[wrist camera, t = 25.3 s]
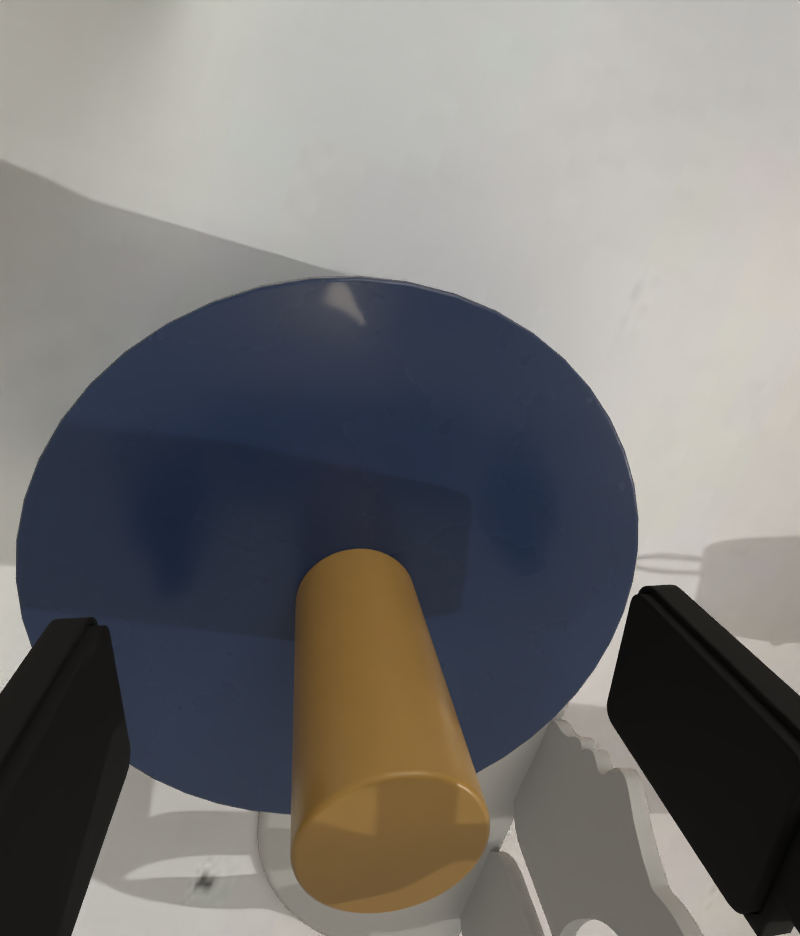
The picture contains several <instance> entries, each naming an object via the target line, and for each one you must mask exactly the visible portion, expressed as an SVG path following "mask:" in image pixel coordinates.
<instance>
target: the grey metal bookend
mask: <svg viewBox="0 0 800 936" xmlns="http://www.w3.org/2000/svg"><path fill="white" fill-rule="evenodd" d="M568 703H569V702H568ZM568 703H567V704H566V705H565V706H564V708H563V709H562V710H561V711H560V712H559V713H558V714H557V715H556V716H555V717H554V718H553V719H552V720H551V721H550V722H549V723H547V724H546V725H545V726H544V727H543V728H542V729H541V730H539V731H538V732H537V733H536V734H535V735H534V736H533V737H531V738H530V739H529V740H528V741H526V742H525V743H523V744H522V745H521V746H519V747H518V748H516V749H515V750H514V751H512V752H511V753H510V754H508V755H507V756H505V757H504V758H502V759H500V760H499V761H497V762H495V763H494V764H492V765H490V766H488V767H487V768H485V769H483V770H482V771H480V772H478V773H477V774H476V775H477V778H478V781H479V784H480V787H481V790H482V793H483V796H484V799H485V802H486V805H487V808H488V811H489V816H490V833H489V839H488V843H487V846H486V848H485V851H484V853H483V855H482V856H481V858H480V860H479V861H478V863H477V864H476V865H475V867H474V868H473V869H472V870H471V871H470V872H469V873H468V874H467V875H466V876H465V877H464V878H463V879H462V880H461V881H460V882H458V883H457V884H456V885H455V886H453V887H452V888H450V889H449V890H447V891H446V892H444V893H442V894H441V895H439V896H437V897H435V898H433V899H431V900H429V901H427V902H424V903H421V904H419V905H416V906H413V907H410V908H406V909H403V910H398V911H393V912H386V913H376V914H361V913H351V912H345V911H340V910H337V909H333V908H330V907H328V906H326V905H323V904H321V903H320V902H318V901H316V900H314V899H313V898H312V897H311V896H309V895H308V894H307V893H306V892H305V891H304V890H303V889H302V888H301V886H300V885H299V883H298V881H297V880H296V877H295V875H294V872H293V870H292V867H291V861H290V837H291V815H288V814H276V813H267V812H260V814H259V822H258V846H259V853H260V859H261V863H262V866H263V869H264V872H265V875H266V877H267V879H268V881H269V884H270V885H271V887H272V889H273V891H274V892H275V894H276V895H277V897H278V898H279V899H280V901H281V902H282V903H283V904H284V905H285V906H286V908H287V909H288V910H289V911H290V912H291V913H292V914H294V915H295V916H296V917H297V918H298V919H299V920H301V921H302V922H303V923H305V924H306V925H308V926H309V927H311V928H312V929H314V930H316V931H318V932H319V933H321V934H323V935H326V936H459V934H460V932H461V931H462V936H544V933H543V930H542V927H541V924H540V922H539V919H538V916H537V913H536V911H535V908H534V905H533V903H532V900H531V897H530V895H529V892H528V889H527V886H526V884H525V881H524V878H523V876H522V873H521V871H520V869H519V867H518V865H517V863H516V861H515V860H514V859H513V858H512V857H511V856H510V855H509V854H508V853H506V852H503V851H499V849H500V847H501V845H502V843H503V841H504V838H505V836H506V834H507V832H508V830H509V828H510V826H511V824H512V822H513V819H514V820H515V828H516V833H517V838H518V842H519V845H520V848H521V851H522V854H523V857H524V859H525V862H526V865H527V867H528V870H529V873H530V876H531V878H532V881H533V884H534V887H535V889H536V892H537V895H538V898H539V900H540V903H541V905H542V908H543V911H544V913H545V916H546V919H547V921H548V924H549V927H550V930H551V933H552V936H575V935H576V933H577V932H578V930H579V928H580V927H581V926H582V925H583V924H584V923H586V922H588V921H590V920H593V919H596V920H599V921H602V922H604V923H605V924H607V925H608V926H609V927H610V928H611V929H613V930H614V931H615V933H616V934H617V935H618V936H703V934H702V932H701V930H700V929H699V927H698V925H697V924H696V922H695V920H694V919H693V917H692V916H691V914H690V913H689V911H688V910H687V909H686V907H685V906H684V905H683V903H682V902H681V901H680V900H679V899H678V898H677V897H676V896H675V895H674V894H673V892H672V891H671V889H670V887H669V885H668V881H667V878H666V875H665V872H664V869H663V866H662V863H661V860H660V856H659V853H658V849H657V845H656V841H655V837H654V833H653V829H652V825H651V820H650V815H649V810H648V804H647V799H646V794H645V789H644V785H643V782H642V779H641V777H640V775H639V774H638V772H637V771H636V770H634V769H625V768H614V769H613V767H612V763H611V760H610V757H609V754H608V753H607V752H606V751H603V750H597V749H596V744H595V742H594V740H593V739H591V738H586V737H580V736H579V735H577V734H576V732H575V731H574V730H573V728H572V726H571V725H570V724H569V723H568V722H567V721H565V720H561V718H562V715H563V713H564V711H565V709H566V707H567V705H568Z"/></svg>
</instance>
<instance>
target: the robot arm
mask: <svg viewBox="0 0 800 936" xmlns="http://www.w3.org/2000/svg"><path fill="white" fill-rule="evenodd" d="M607 712H608V716H609V719H610V721H611V723H612V725H613V727H614V728H615V730H616V731H617V733H618V734H619V736H620V737H621V739H622V740H623V742H624V744H625V745H626V747H627V748H628V750H629V751H630V753H631V754H632V756H633V757H634V759H635V761H636V762H637V764H638V765H639V767H640V768H641V770H642V771H643V773H644V774H645V776H646V777H647V779H648V781H649V782H650V784H651V785H652V787H653V788H654V790H655V791H656V793H657V794H658V796H659V798H660V799H661V801H662V802H663V804H664V805H665V807H666V808H667V810H668V811H669V813H670V815H671V816H672V818H673V819H674V821H675V822H676V824H677V825H678V827H679V828H680V830H681V831H682V833H683V835H684V836H685V838H686V839H687V841H688V842H689V844H690V845H691V847H692V848H693V850H694V852H695V853H696V855H697V856H698V858H699V859H700V861H701V862H702V864H703V865H704V867H705V869H706V870H707V872H708V873H709V875H710V876H711V878H712V879H713V881H714V882H715V884H716V885H717V887H718V889H719V890H720V892H721V893H722V895H723V896H724V898H725V899H726V901H727V902H728V904H729V905H730V906H731V907H732V908H733V909H734V910H735V911H736V912H738V913H740V914H743V915H744V917H745V918H746V920H747V921H748V923H749V924H750V926H751V927H752V929H753V930H754V932H755V933H756V935H757V936H775V935H780V934H786V933H791V931H792V929H793V927H794V926H795V927H796V929H797V930H798V932H799V933H800V696H799V695H798V694H797V693H796V692H795V691H794V690H793V689H791V688H790V687H789V686H788V685H787V684H786V683H785V682H784V681H783V680H781V679H780V678H779V677H778V676H777V675H776V674H775V673H774V672H773V671H771V670H770V669H769V668H768V667H767V666H766V665H765V664H764V663H763V662H761V661H760V660H759V659H758V658H757V657H756V656H755V655H754V654H753V653H751V652H750V651H749V650H748V649H747V648H746V647H745V646H744V645H742V644H741V643H740V642H739V641H738V640H737V639H736V638H735V637H734V636H732V635H731V634H730V633H729V632H728V631H727V630H726V629H725V628H724V627H722V626H721V625H720V624H719V623H718V622H717V621H716V620H715V619H714V618H712V617H711V616H710V615H709V614H708V613H707V612H706V611H705V610H704V609H702V608H701V607H700V606H699V605H698V604H697V603H696V602H695V601H694V600H692V599H691V598H690V597H689V596H688V595H687V594H686V593H685V592H683V591H682V590H681V589H680V588H679V587H677V586H676V585H656V586H645V587H642V588H641V589H640V591H639V593H638V594H637V595H634V596H633V598H632V600H631V603H630V607H629V611H628V616H627V620H626V624H625V628H624V633H623V637H622V641H621V645H620V650H619V654H618V658H617V662H616V667H615V671H614V675H613V679H612V684H611V688H610V692H609V697H608V701H607ZM130 752H131V750H130V742H129V736H128V731H127V725H126V720H125V714H124V708H123V703H122V697H121V691H120V686H119V680H118V675H117V669H116V663H115V658H114V652H113V647H112V641H111V635H110V631H109V628H108V626H106V625H98V623H97V621H96V619H95V618H94V617H78V618H60V619H54V620H52V621H51V622H50V623H49V624H48V626H47V627H46V629H45V630H44V632H43V633H42V634H41V636H40V637H39V639H38V640H37V642H36V643H35V644H34V646H33V647H32V649H31V650H30V652H29V653H28V655H27V656H26V657H25V659H24V660H23V662H22V663H21V665H20V666H19V667H18V669H17V670H16V672H15V673H14V675H13V676H12V678H11V679H10V680H9V682H8V683H7V685H6V686H5V688H4V689H3V691H2V692H1V693H0V936H71V935H72V932H73V929H74V926H75V923H76V920H77V917H78V914H79V911H80V908H81V906H82V903H83V900H84V897H85V894H86V891H87V888H88V885H89V882H90V879H91V877H92V874H93V871H94V868H95V865H96V862H97V859H98V856H99V853H100V850H101V848H102V845H103V842H104V839H105V836H106V833H107V830H108V827H109V824H110V821H111V819H112V816H113V813H114V810H115V807H116V804H117V801H118V798H119V795H120V792H121V790H122V787H123V784H124V781H125V778H126V775H127V772H128V768H129V763H130Z"/></svg>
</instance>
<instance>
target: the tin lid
mask: <svg viewBox="0 0 800 936" xmlns="http://www.w3.org/2000/svg"><path fill="white" fill-rule="evenodd" d="M637 551H638V511H637V503H636V495H635V487H634V482H633V479H632V475H631V472H630V468H629V464H628V461H627V457H626V454H625V450H624V448H623V446H622V444H621V442H620V439H619V437H618V435H617V433H616V430H615V428H614V426H613V424H612V422H611V419H610V417H609V416H608V414H607V413H606V411H605V410H604V408H603V407H602V405H601V404H600V402H599V401H598V399H597V398H596V396H595V394H594V393H593V391H592V390H591V388H590V387H589V386H588V385H587V384H586V382H585V381H584V380H583V379H582V378H581V377H580V376H579V375H578V374H577V372H576V371H575V370H574V369H573V368H572V367H571V366H570V365H569V364H568V362H567V361H566V360H565V359H564V358H563V357H562V356H560V355H559V354H558V353H557V352H556V351H554V350H553V349H552V348H551V347H549V346H548V345H547V344H546V343H545V342H543V341H542V340H541V339H540V338H538V337H537V336H536V335H535V334H534V333H532V332H531V331H529V330H527V329H526V328H524V327H522V326H521V325H519V324H517V323H516V322H514V321H512V320H511V319H509V318H507V317H506V316H504V315H502V314H501V313H499V312H497V311H495V310H493V309H491V308H488V307H486V306H483V305H481V304H478V303H476V302H474V301H471V300H469V299H466V298H464V297H462V296H459V295H457V294H454V293H450V292H446V291H443V290H439V289H435V288H431V287H427V286H423V285H419V284H415V283H411V282H407V281H402V280H392V279H383V278H374V277H365V276H333V277H308V278H302V279H297V280H291V281H285V282H279V283H273V284H267V285H262V286H259V287H255V288H252V289H249V290H246V291H243V292H240V293H236V294H233V295H230V296H227V297H224V298H221V299H217V300H215V301H213V302H211V303H209V304H207V305H204V306H202V307H200V308H198V309H196V310H194V311H192V312H190V313H188V314H186V315H184V316H182V317H179V318H177V319H175V320H173V321H171V322H169V323H167V324H166V325H164V326H163V327H161V328H160V329H158V330H157V331H155V332H154V333H152V334H151V335H149V336H148V337H146V338H145V339H143V340H142V341H140V342H139V343H137V344H136V345H134V346H133V347H131V348H130V349H128V350H127V351H125V352H124V353H123V354H122V355H121V356H120V357H119V358H118V359H117V360H116V361H114V362H113V363H112V364H111V365H110V366H109V367H108V368H107V369H106V370H105V371H103V372H102V373H101V374H100V375H99V376H98V377H97V378H96V379H95V380H94V381H93V382H91V383H90V384H89V386H88V387H87V388H86V389H85V391H84V392H83V393H82V394H81V396H80V397H79V398H78V399H77V401H76V402H75V403H74V404H73V406H72V407H71V408H70V409H69V411H68V412H67V413H66V414H65V416H64V417H63V418H62V419H61V421H60V422H59V424H58V426H57V428H56V429H55V431H54V433H53V435H52V436H51V438H50V440H49V442H48V444H47V445H46V447H45V449H44V451H43V452H42V454H41V456H40V458H39V459H38V462H37V465H36V468H35V470H34V473H33V476H32V479H31V481H30V484H29V487H28V490H27V492H26V495H25V498H24V502H23V507H22V512H21V518H20V523H19V529H18V534H17V540H16V584H17V590H18V596H19V602H20V609H21V615H22V620H23V623H24V626H25V629H26V632H27V635H28V638H29V641H30V644H31V647H33V646H34V644H35V643H36V642H37V640H38V639H39V637H40V636H41V634H42V633H43V632H44V630H45V629H46V627H47V626H48V624H49V623H50V622H51V621H52V620H54V619H60V618H78V617H94V618H95V619H96V621H97V623H98V625H106V626H108V628H109V631H110V635H111V641H112V647H113V652H114V658H115V663H116V669H117V675H118V680H119V686H120V691H121V697H122V703H123V708H124V714H125V720H126V725H127V731H128V736H129V742H130V750H131V752H130V763H129V764H130V765H131V766H133V767H135V768H136V769H138V770H140V771H142V772H143V773H145V774H147V775H148V776H150V777H152V778H153V779H155V780H157V781H160V782H162V783H164V784H166V785H169V786H171V787H173V788H175V789H177V790H180V791H182V792H184V793H187V794H190V795H193V796H196V797H199V798H202V799H205V800H208V801H211V802H215V803H218V804H222V805H227V806H231V807H236V808H241V809H246V810H250V811H258V812H267V813H276V814H288V815H291V837H290V861H291V867H292V870H293V872H294V875H295V877H296V880H297V881H298V883H299V885H300V886H301V888H302V889H303V890H304V891H305V892H306V893H307V894H308V895H309V896H311V897H312V898H313V899H314V900H316V901H318V902H320V903H321V904H323V905H326V906H328V907H330V908H333V909H337V910H340V911H345V912H351V913H361V914H376V913H386V912H393V911H398V910H403V909H406V908H410V907H413V906H416V905H419V904H421V903H424V902H427V901H429V900H431V899H433V898H435V897H437V896H439V895H441V894H442V893H444V892H446V891H447V890H449V889H450V888H452V887H453V886H455V885H456V884H457V883H458V882H460V881H461V880H462V879H463V878H464V877H465V876H466V875H467V874H468V873H469V872H470V871H471V870H472V869H473V868H474V867H475V865H476V864H477V863H478V861H479V860H480V858H481V856H482V855H483V853H484V851H485V848H486V846H487V843H488V839H489V833H490V816H489V811H488V808H487V805H486V802H485V799H484V796H483V793H482V790H481V787H480V784H479V781H478V778H477V775H476V774H477V773H478V772H480V771H482V770H483V769H485V768H487V767H488V766H490V765H492V764H494V763H495V762H497V761H499V760H500V759H502V758H504V757H505V756H507V755H508V754H510V753H511V752H512V751H514V750H515V749H516V748H518V747H519V746H521V745H522V744H523V743H525V742H526V741H528V740H529V739H530V738H531V737H533V736H534V735H535V734H536V733H537V732H538V731H539V730H541V729H542V728H543V727H544V726H545V725H546V724H547V723H549V722H550V721H551V720H552V719H553V718H554V717H555V716H556V715H557V714H558V713H559V712H560V711H561V710H562V709H563V708H564V706H565V705H566V704H567V703H568V702H569V701H570V700H571V699H572V698H573V697H574V696H575V695H576V693H577V692H578V691H579V689H580V688H581V687H582V685H583V684H584V683H585V681H586V680H587V679H588V677H589V676H590V675H591V673H592V672H593V671H594V669H595V668H596V666H597V664H598V663H599V661H600V659H601V657H602V656H603V654H604V652H605V651H606V649H607V647H608V646H609V644H610V642H611V640H612V638H613V635H614V633H615V631H616V629H617V626H618V624H619V622H620V619H621V617H622V615H623V613H624V609H625V606H626V603H627V599H628V596H629V592H630V589H631V586H632V582H633V576H634V570H635V564H636V558H637Z"/></svg>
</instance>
